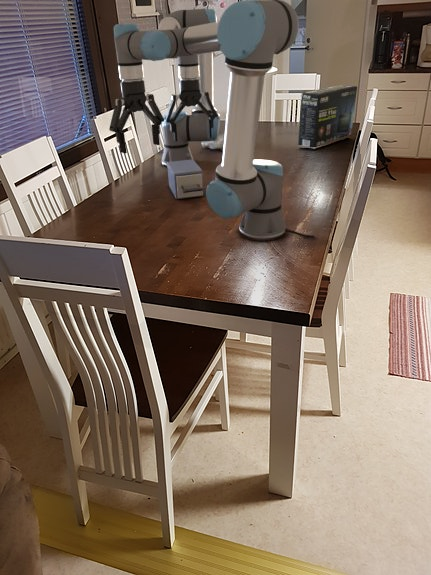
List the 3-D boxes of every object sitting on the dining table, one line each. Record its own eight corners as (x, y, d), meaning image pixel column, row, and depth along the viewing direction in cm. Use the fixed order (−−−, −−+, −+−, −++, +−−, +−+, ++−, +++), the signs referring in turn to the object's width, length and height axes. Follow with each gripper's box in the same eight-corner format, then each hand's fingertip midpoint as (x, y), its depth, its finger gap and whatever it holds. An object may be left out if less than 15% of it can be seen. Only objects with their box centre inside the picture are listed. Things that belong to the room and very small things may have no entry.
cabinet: (203, 195, 181) (202, 170, 176) (176, 199, 179) (174, 173, 174) (194, 183, 195) (193, 159, 190) (169, 186, 193) (166, 162, 188)
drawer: (206, 200, 174) (205, 179, 170) (181, 203, 172) (179, 182, 168) (194, 183, 192) (193, 163, 188) (171, 185, 190) (169, 166, 186)
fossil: (225, 144, 233) (205, 126, 236) (214, 162, 239) (195, 143, 242) (242, 143, 246) (224, 125, 250) (232, 159, 253) (214, 142, 256)
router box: (314, 151, 231) (318, 94, 217) (296, 148, 237) (299, 92, 224) (352, 138, 251) (358, 85, 238) (335, 135, 258) (340, 83, 245)
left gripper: (218, 75, 172) (220, 133, 183) (153, 80, 166) (159, 140, 177) (225, 77, 166) (226, 137, 177) (157, 82, 160) (163, 144, 171)
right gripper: (156, 75, 154) (162, 139, 165) (91, 84, 139) (102, 154, 150) (170, 76, 149) (176, 142, 160) (104, 85, 135) (115, 158, 145)
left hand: (192, 138), depth 177 cm, fingers open, 13 cm apart
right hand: (140, 148), depth 155 cm, fingers open, 13 cm apart
